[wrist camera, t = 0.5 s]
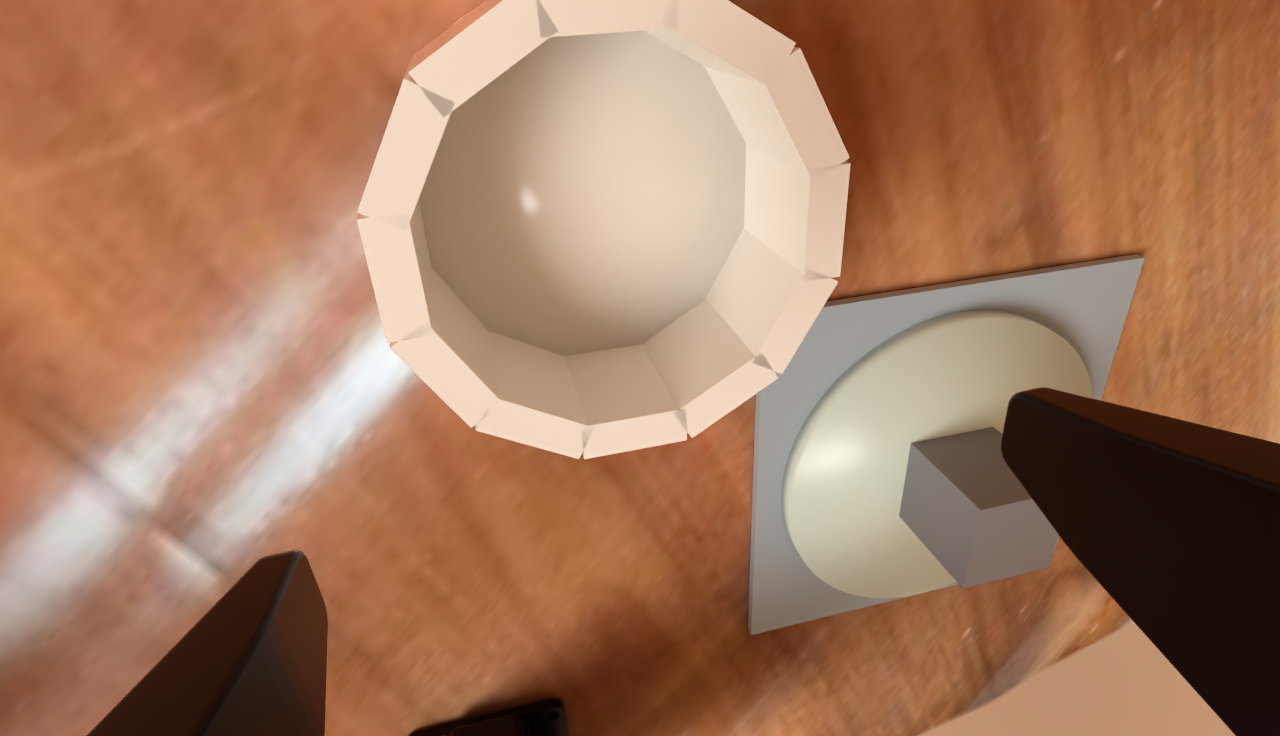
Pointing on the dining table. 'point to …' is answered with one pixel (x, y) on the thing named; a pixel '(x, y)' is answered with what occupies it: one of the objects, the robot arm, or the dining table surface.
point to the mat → (850, 328)
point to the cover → (925, 459)
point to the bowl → (604, 217)
